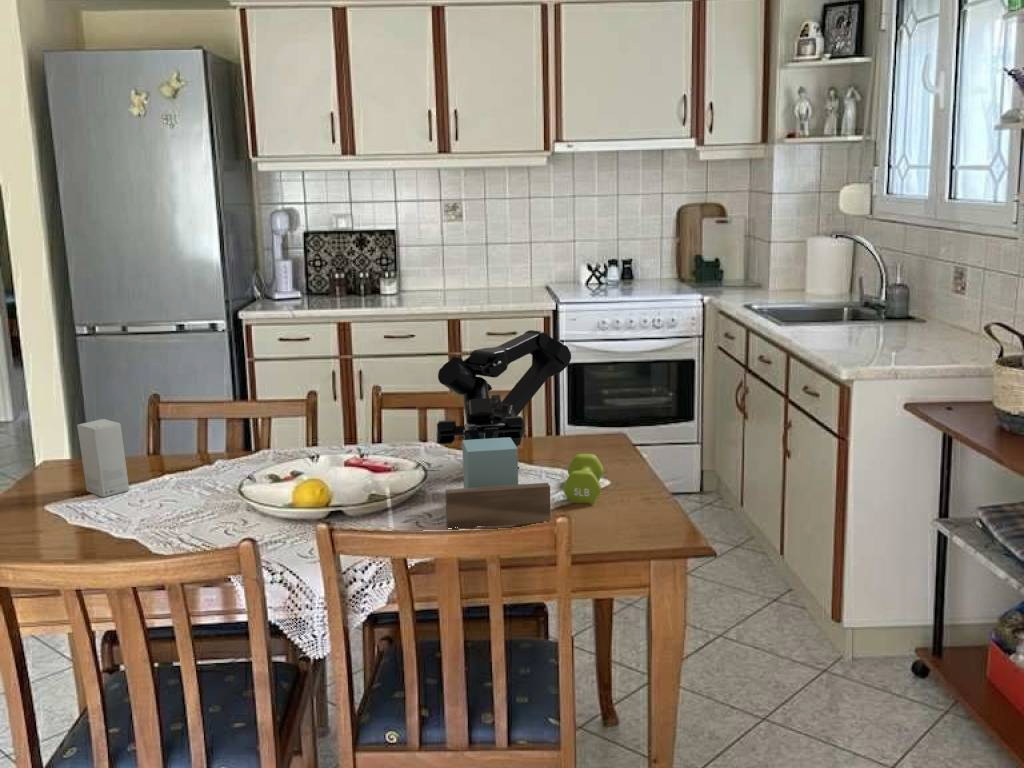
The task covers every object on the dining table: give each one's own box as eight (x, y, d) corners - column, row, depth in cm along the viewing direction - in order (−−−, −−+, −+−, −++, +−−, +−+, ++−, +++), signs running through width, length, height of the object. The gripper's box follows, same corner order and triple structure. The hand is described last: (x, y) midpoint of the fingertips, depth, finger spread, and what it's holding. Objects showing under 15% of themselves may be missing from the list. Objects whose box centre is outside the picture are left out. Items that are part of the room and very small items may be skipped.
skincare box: (129, 491, 219) (122, 423, 216) (100, 498, 214) (93, 429, 211) (112, 484, 225) (105, 417, 221) (83, 491, 220) (76, 423, 217)
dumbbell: (600, 508, 202) (600, 474, 201) (561, 507, 204) (561, 473, 202) (604, 484, 218) (604, 452, 217) (568, 483, 219) (568, 451, 218)
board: (446, 529, 192) (445, 489, 190) (548, 521, 195) (547, 482, 193) (447, 533, 189) (446, 493, 188) (550, 525, 192) (550, 486, 191)
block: (464, 500, 206) (462, 440, 203) (511, 497, 207) (510, 437, 205) (469, 514, 197) (467, 451, 195) (518, 511, 199) (517, 448, 196)
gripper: (435, 384, 210) (441, 448, 201) (522, 379, 212) (532, 442, 204) (433, 411, 219) (439, 474, 210) (517, 407, 222) (526, 468, 213)
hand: (484, 464), depth 209 cm, fingers closed
